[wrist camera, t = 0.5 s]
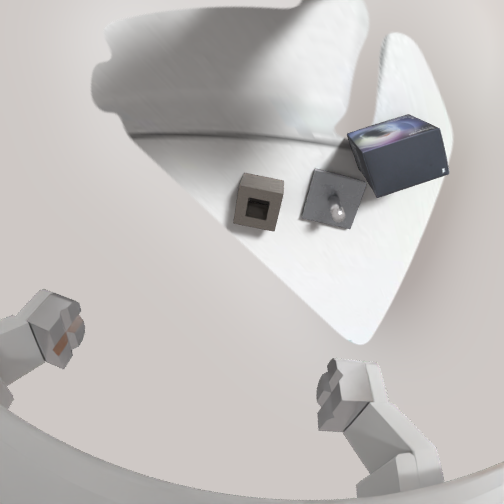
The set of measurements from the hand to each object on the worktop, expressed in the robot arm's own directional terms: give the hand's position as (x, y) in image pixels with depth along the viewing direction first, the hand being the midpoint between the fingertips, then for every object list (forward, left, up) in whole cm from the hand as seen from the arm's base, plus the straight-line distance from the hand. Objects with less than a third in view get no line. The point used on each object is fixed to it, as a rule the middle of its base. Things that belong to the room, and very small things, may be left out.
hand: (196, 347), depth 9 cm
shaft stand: (+9, +12, -37) cm, 40 cm away
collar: (+11, +1, -37) cm, 38 cm away
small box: (-2, +17, -37) cm, 41 cm away
